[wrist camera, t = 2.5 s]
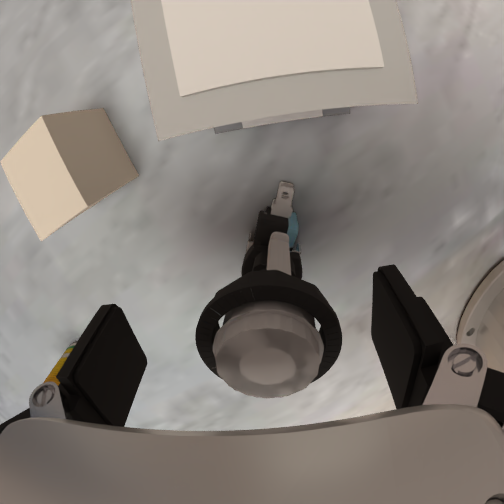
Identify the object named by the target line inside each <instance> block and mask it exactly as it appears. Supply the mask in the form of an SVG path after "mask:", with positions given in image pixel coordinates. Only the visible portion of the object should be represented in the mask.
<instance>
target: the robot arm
mask: <svg viewBox="0 0 504 504" xmlns="http://www.w3.org/2000/svg"><path fill="white" fill-rule="evenodd" d="M371 335H372V340H373V343H374V345H375V348H376V351H377V353H378V356H379V359H380V362H381V365H382V367H383V370H384V373H385V376H386V379H387V382H388V385H389V388H390V390H391V393H392V396H393V400H394V403H395V406H396V410H391V411H386V412H380V413H375V414H370V415H365V416H360V417H354V418H348V419H342V420H336V421H329V422H323V423H316V424H308V425H300V426H291V427H281V428H270V429H255V430H235V431H174V430H154V429H140V428H129V427H124V425H125V423H126V420H127V417H128V414H129V411H130V409H131V406H132V403H133V400H134V398H135V395H136V392H137V390H138V387H139V384H140V382H141V379H142V376H143V374H144V371H145V368H146V366H147V358H146V356H145V354H144V352H143V350H142V348H141V346H140V344H139V343H138V341H137V339H136V337H135V335H134V333H133V331H132V329H131V327H130V325H129V323H128V321H127V319H126V317H125V315H124V313H123V310H122V309H121V308H120V307H118V306H117V305H116V304H109V305H102V306H101V307H100V308H99V310H98V311H97V313H96V314H95V316H94V317H93V319H92V320H91V322H90V323H89V325H88V326H87V328H86V329H85V331H84V332H83V334H82V335H81V337H80V338H79V340H78V341H77V343H76V345H75V346H74V348H73V349H72V351H71V353H70V354H69V356H68V357H67V359H66V361H65V362H64V364H63V366H62V367H61V369H60V371H59V372H58V374H57V376H56V378H57V379H58V380H59V382H60V384H59V386H58V385H57V384H56V383H55V382H51V381H50V382H45V383H42V384H41V385H39V386H38V387H36V388H35V389H34V391H33V392H32V394H31V396H30V398H29V406H30V408H28V409H27V410H25V411H23V412H22V413H20V414H18V415H16V416H15V417H13V418H11V419H9V420H8V421H6V422H4V423H2V424H1V425H0V504H504V260H503V261H502V262H501V263H500V264H499V265H497V266H496V267H495V268H494V269H493V270H492V271H491V272H490V274H489V275H488V276H487V277H486V278H485V279H484V280H483V282H482V283H481V284H480V286H479V287H478V289H477V290H476V291H475V293H474V294H473V296H472V298H471V300H470V301H469V303H468V305H467V307H466V309H465V311H464V314H463V316H462V318H461V321H460V325H459V328H458V333H457V344H456V345H454V346H453V344H452V342H451V341H450V339H449V337H448V336H447V334H446V332H445V331H444V329H443V328H442V326H441V324H440V323H439V321H438V320H437V318H436V317H435V315H434V313H433V312H432V310H431V309H430V307H429V306H428V304H427V303H426V301H425V300H424V299H423V298H422V297H416V295H415V294H414V292H413V291H412V289H411V288H410V286H409V285H408V283H407V282H406V280H405V279H404V277H403V276H402V274H401V273H400V271H399V270H398V269H397V267H396V266H395V265H394V264H393V265H387V266H382V267H379V268H378V271H377V272H374V273H373V303H372V326H371Z"/></svg>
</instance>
